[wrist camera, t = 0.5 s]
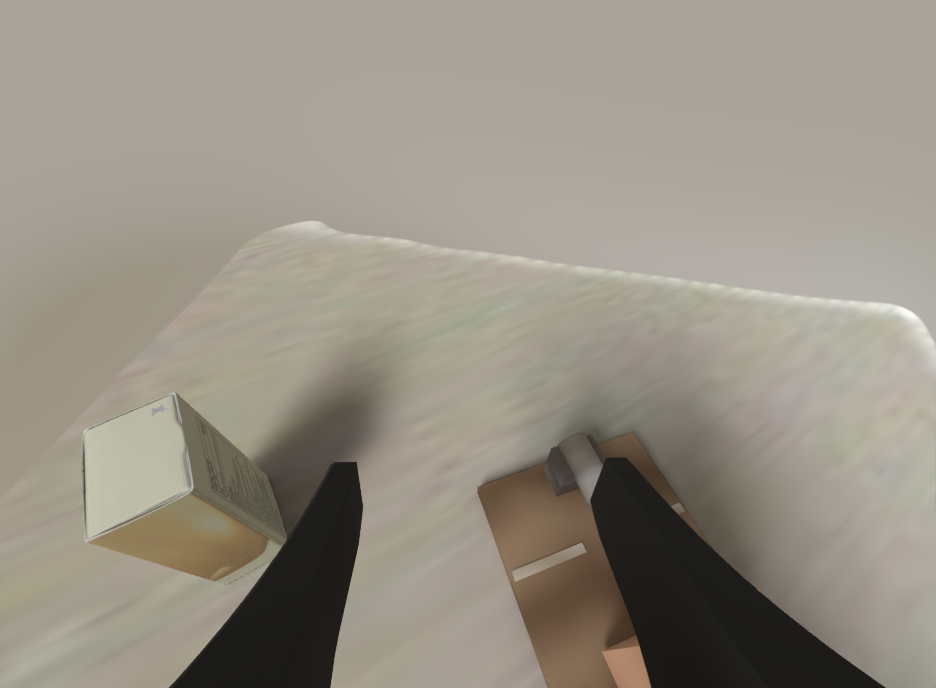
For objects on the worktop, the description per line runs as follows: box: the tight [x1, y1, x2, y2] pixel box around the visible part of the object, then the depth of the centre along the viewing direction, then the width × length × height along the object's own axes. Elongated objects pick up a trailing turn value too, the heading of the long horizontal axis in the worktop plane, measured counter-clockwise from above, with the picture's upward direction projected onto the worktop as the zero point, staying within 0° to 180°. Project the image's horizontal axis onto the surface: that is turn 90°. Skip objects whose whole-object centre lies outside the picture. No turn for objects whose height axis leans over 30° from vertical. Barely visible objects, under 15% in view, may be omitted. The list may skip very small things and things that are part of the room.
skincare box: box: [81, 392, 287, 585], centre depth 23 cm, size 6×4×12 cm
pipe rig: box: [478, 432, 713, 688], centre depth 23 cm, size 18×13×6 cm
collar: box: [602, 589, 761, 688], centre depth 19 cm, size 3×6×6 cm, turn 109°
